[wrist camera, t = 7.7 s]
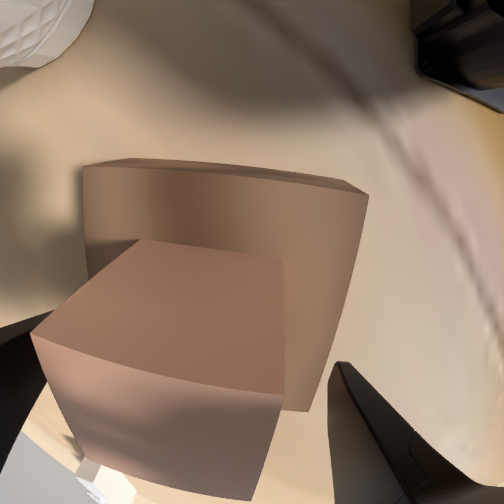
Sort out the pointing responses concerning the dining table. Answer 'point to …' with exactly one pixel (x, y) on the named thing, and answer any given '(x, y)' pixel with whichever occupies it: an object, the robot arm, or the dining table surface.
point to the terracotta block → (173, 365)
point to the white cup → (39, 29)
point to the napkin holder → (105, 483)
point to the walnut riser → (240, 237)
